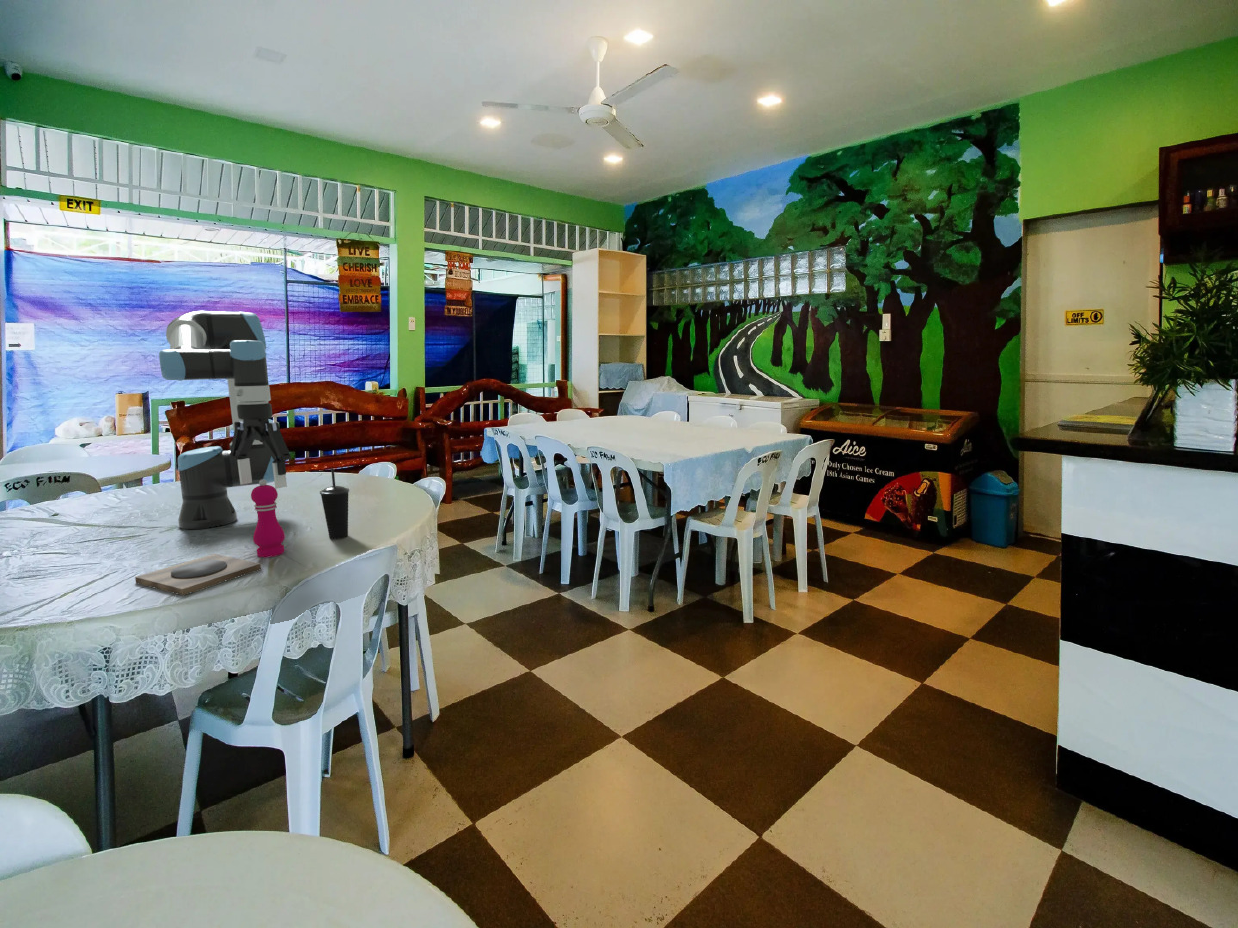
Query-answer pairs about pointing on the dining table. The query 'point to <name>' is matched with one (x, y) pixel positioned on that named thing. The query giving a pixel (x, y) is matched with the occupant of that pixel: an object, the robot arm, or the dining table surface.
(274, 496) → the pepper mill
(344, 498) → the drinking cup
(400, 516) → the dining table surface
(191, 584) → the mount board
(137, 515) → the dining table surface
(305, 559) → the dining table surface
